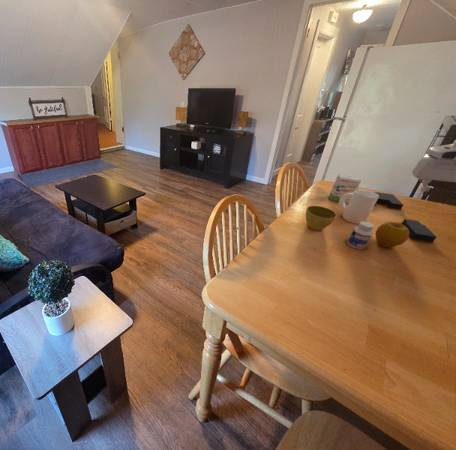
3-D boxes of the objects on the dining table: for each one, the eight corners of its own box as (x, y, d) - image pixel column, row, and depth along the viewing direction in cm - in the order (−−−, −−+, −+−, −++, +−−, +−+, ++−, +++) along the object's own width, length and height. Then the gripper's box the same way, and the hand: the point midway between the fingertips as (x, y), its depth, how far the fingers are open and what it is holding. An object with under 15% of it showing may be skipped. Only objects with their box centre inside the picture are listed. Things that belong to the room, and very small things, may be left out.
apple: (403, 255, 83) (418, 233, 79) (372, 247, 87) (385, 226, 82) (397, 242, 90) (410, 221, 85) (368, 235, 93) (380, 215, 88)
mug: (340, 209, 111) (351, 184, 105) (369, 221, 103) (383, 195, 96) (329, 213, 108) (340, 188, 102) (358, 225, 99) (372, 199, 93)
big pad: (390, 198, 121) (393, 194, 120) (400, 209, 111) (403, 204, 110) (357, 194, 125) (359, 189, 124) (364, 204, 116) (366, 199, 114)
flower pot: (327, 237, 92) (335, 221, 88) (298, 228, 97) (304, 212, 93) (330, 226, 99) (338, 210, 95) (303, 218, 104) (309, 203, 100)
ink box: (330, 200, 119) (339, 177, 113) (328, 196, 123) (337, 174, 117) (350, 203, 116) (361, 180, 110) (348, 199, 120) (359, 176, 114)
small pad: (417, 226, 99) (420, 221, 98) (432, 242, 90) (436, 236, 88) (398, 223, 101) (402, 218, 100) (412, 239, 92) (416, 233, 90)
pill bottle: (349, 239, 91) (359, 218, 87) (366, 245, 88) (378, 224, 83) (345, 244, 88) (356, 224, 83) (362, 251, 85) (375, 230, 80)
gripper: (506, 153, 76) (475, 194, 83) (423, 147, 82) (401, 185, 90) (522, 159, 71) (488, 201, 78) (433, 152, 77) (409, 192, 85)
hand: (441, 193), depth 84 cm, fingers open, 8 cm apart
